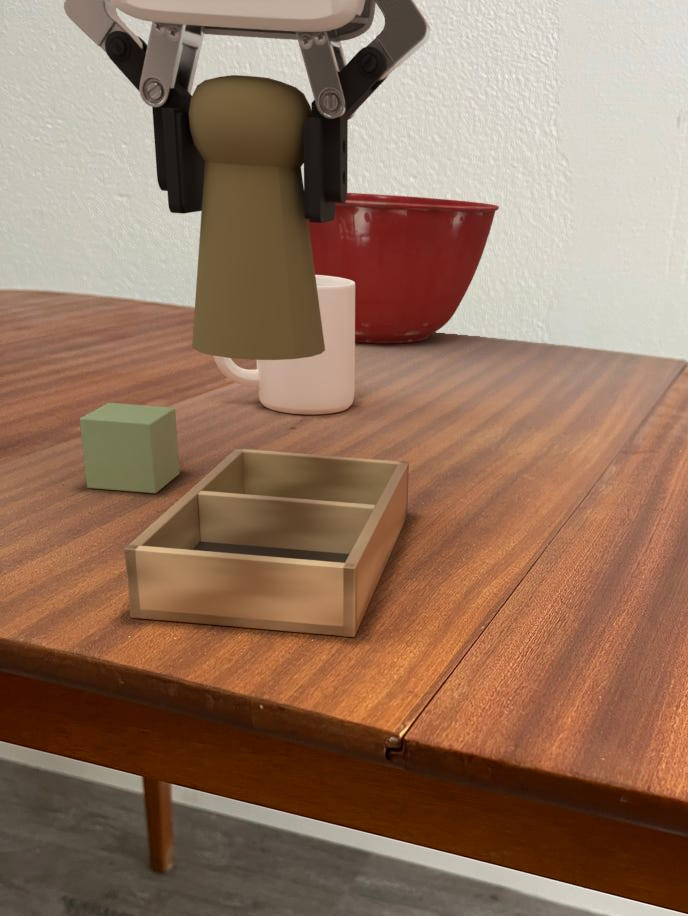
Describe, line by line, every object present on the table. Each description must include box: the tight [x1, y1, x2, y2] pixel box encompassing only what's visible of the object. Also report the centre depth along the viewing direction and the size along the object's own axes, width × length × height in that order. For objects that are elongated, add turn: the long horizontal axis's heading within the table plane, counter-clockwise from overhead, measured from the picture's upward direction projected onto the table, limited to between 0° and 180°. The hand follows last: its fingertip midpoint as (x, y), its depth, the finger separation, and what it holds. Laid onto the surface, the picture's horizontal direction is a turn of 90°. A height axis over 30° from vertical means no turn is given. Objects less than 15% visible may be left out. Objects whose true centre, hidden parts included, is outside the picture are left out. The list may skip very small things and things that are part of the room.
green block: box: [79, 402, 180, 494], centre depth 66 cm, size 4×4×4 cm
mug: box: [212, 275, 356, 416], centre depth 86 cm, size 12×8×10 cm
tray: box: [123, 447, 410, 638], centre depth 55 cm, size 11×18×4 cm, turn 176°
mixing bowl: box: [308, 192, 500, 344], centre depth 120 cm, size 28×28×15 cm
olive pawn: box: [189, 74, 325, 361], centre depth 45 cm, size 6×6×11 cm
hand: (254, 211), depth 45 cm, fingers closed on olive pawn, 5 cm apart
